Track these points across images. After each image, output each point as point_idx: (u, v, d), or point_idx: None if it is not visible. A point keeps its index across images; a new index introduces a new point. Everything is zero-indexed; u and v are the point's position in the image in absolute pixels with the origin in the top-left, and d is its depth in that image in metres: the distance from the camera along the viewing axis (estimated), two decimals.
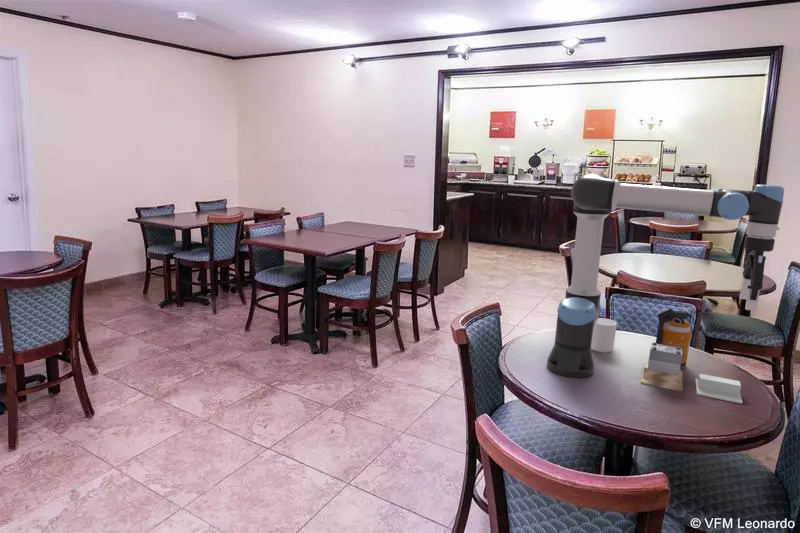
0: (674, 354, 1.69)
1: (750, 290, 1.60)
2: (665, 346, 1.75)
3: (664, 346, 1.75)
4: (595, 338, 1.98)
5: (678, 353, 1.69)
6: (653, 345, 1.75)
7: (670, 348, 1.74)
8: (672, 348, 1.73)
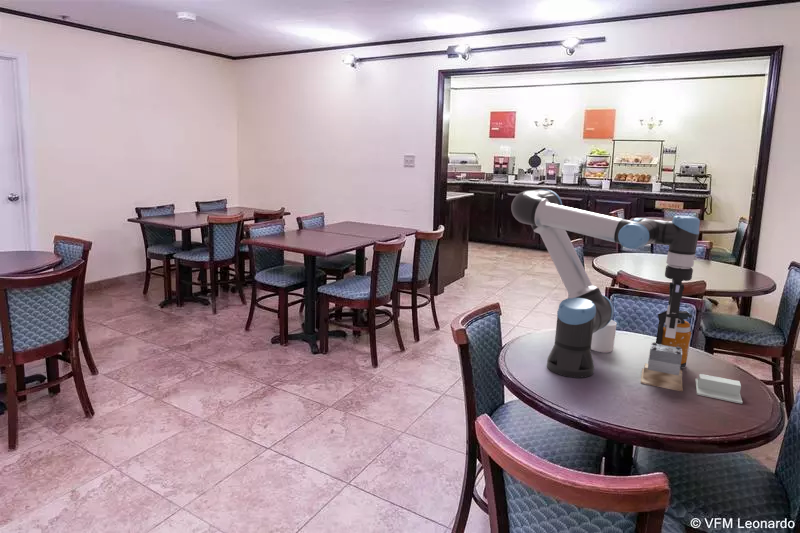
0: (674, 354, 1.69)
1: (669, 318, 1.64)
2: (665, 346, 1.75)
3: (664, 346, 1.75)
4: (595, 338, 1.98)
5: (678, 353, 1.69)
6: (653, 345, 1.75)
7: (670, 348, 1.74)
8: (672, 348, 1.73)
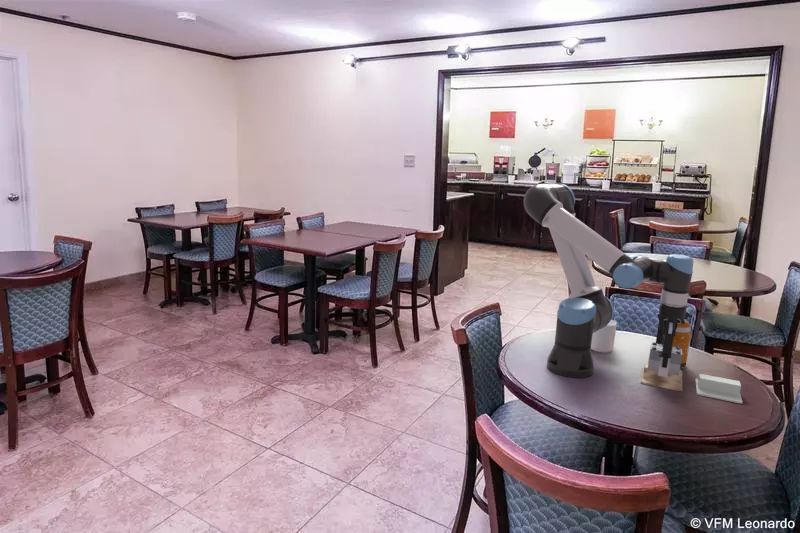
0: (674, 354, 1.69)
1: (661, 358, 1.70)
2: None
3: None
4: (595, 338, 1.98)
5: (678, 353, 1.69)
6: (653, 345, 1.75)
7: None
8: (672, 348, 1.73)
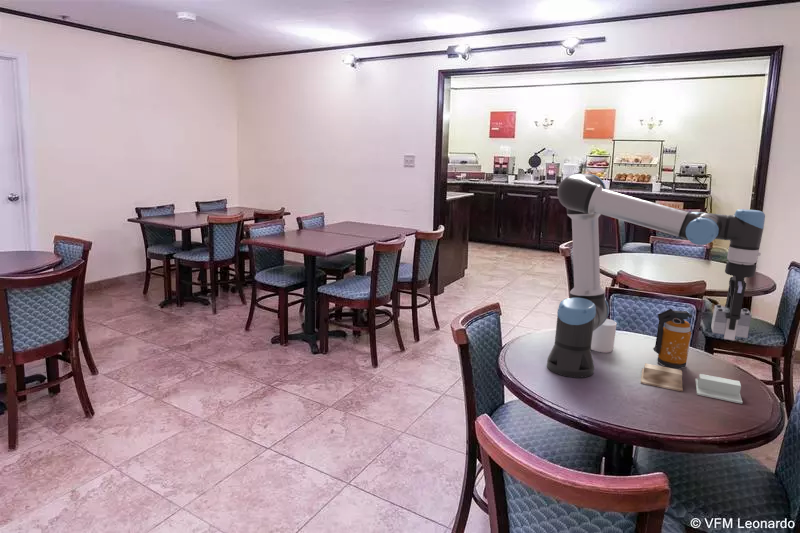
0: (742, 315, 1.59)
1: (728, 320, 1.60)
2: None
3: (729, 308, 1.65)
4: (595, 338, 1.98)
5: (747, 314, 1.59)
6: (718, 307, 1.65)
7: None
8: None
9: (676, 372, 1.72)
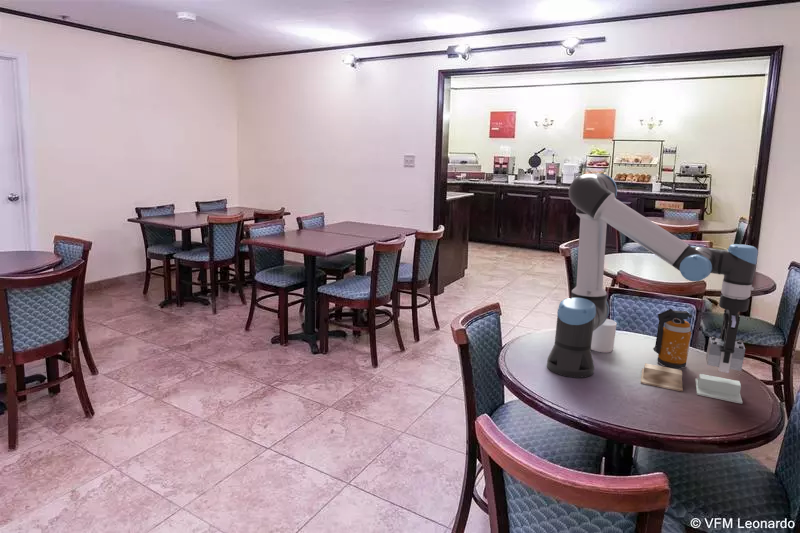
0: (736, 349, 1.61)
1: (723, 353, 1.62)
2: None
3: None
4: (595, 338, 1.98)
5: (741, 347, 1.61)
6: (712, 339, 1.67)
7: None
8: None
9: (676, 372, 1.72)
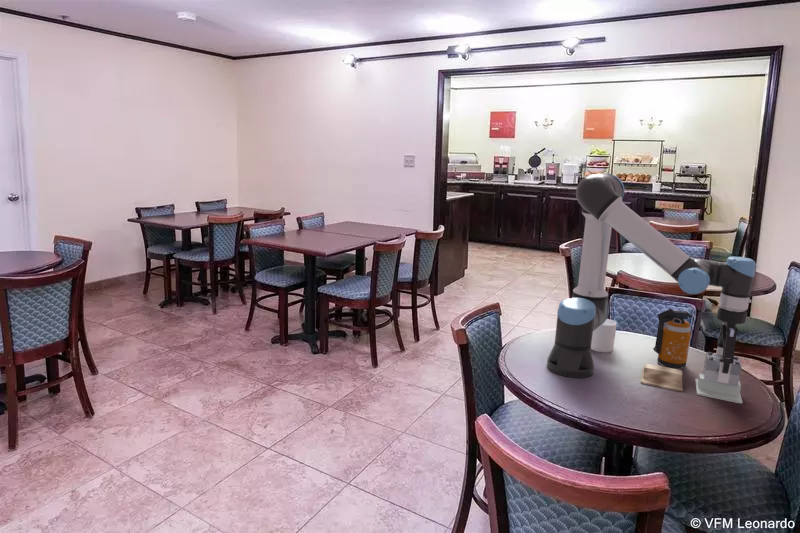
0: (733, 365, 1.63)
1: (722, 363, 1.60)
2: (721, 356, 1.68)
3: (720, 356, 1.68)
4: (595, 338, 1.98)
5: (737, 363, 1.62)
6: (709, 355, 1.69)
7: None
8: None
9: (676, 372, 1.72)
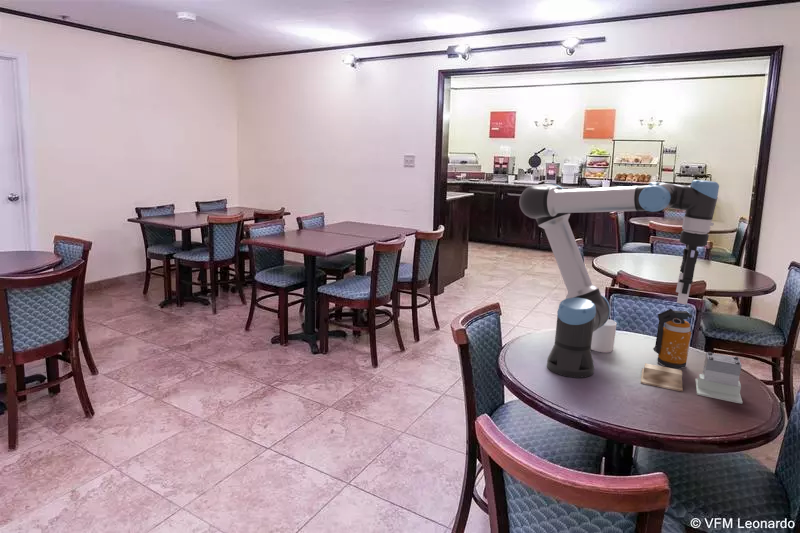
0: (733, 365, 1.63)
1: (682, 284, 1.62)
2: (721, 356, 1.68)
3: (720, 356, 1.68)
4: (595, 338, 1.98)
5: (737, 363, 1.62)
6: (709, 355, 1.69)
7: (727, 357, 1.67)
8: (730, 359, 1.66)
9: (676, 372, 1.72)
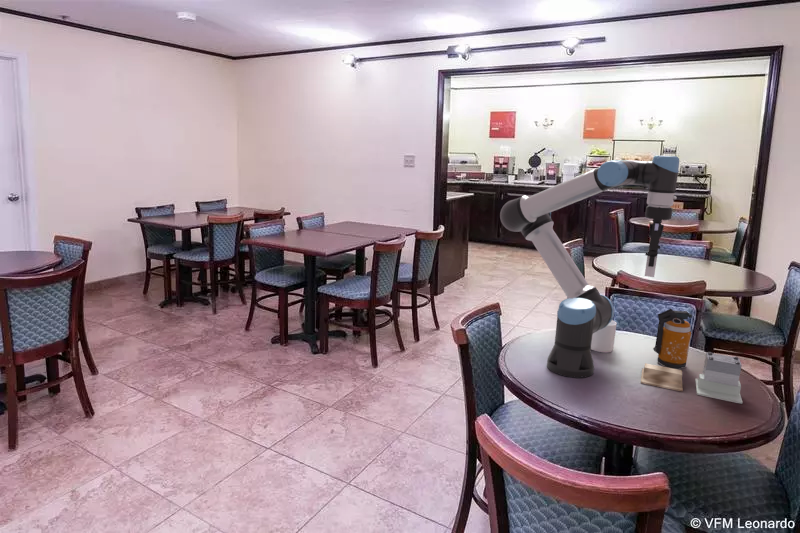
0: (733, 365, 1.63)
1: (648, 257, 1.65)
2: (721, 356, 1.68)
3: (720, 356, 1.68)
4: (595, 338, 1.98)
5: (737, 363, 1.62)
6: (709, 355, 1.69)
7: (727, 357, 1.67)
8: (730, 359, 1.66)
9: (676, 372, 1.72)
